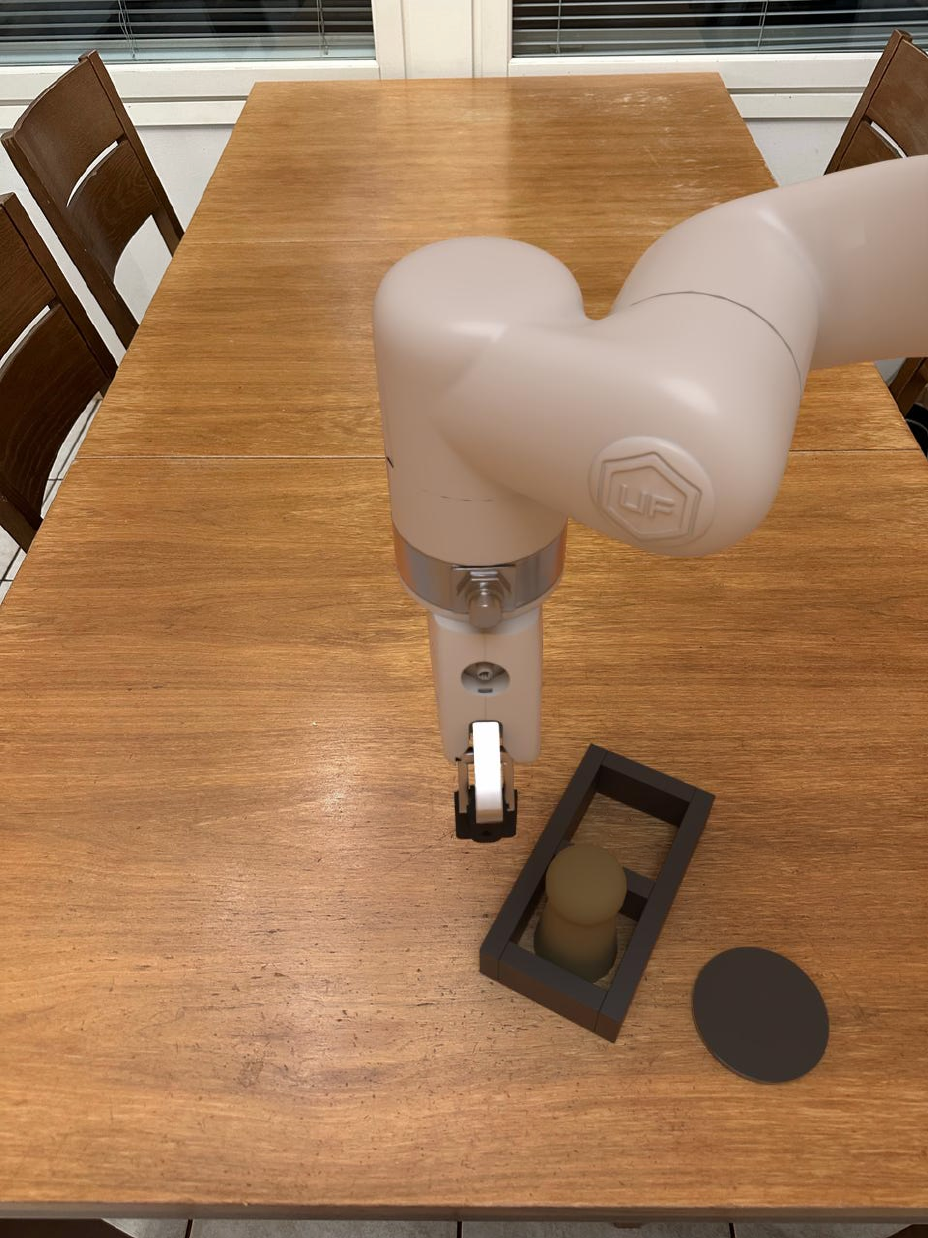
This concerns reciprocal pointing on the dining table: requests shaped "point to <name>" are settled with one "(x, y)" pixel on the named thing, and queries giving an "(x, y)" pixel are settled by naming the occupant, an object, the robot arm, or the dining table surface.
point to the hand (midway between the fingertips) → (481, 757)
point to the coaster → (760, 1015)
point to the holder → (640, 903)
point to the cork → (581, 911)
